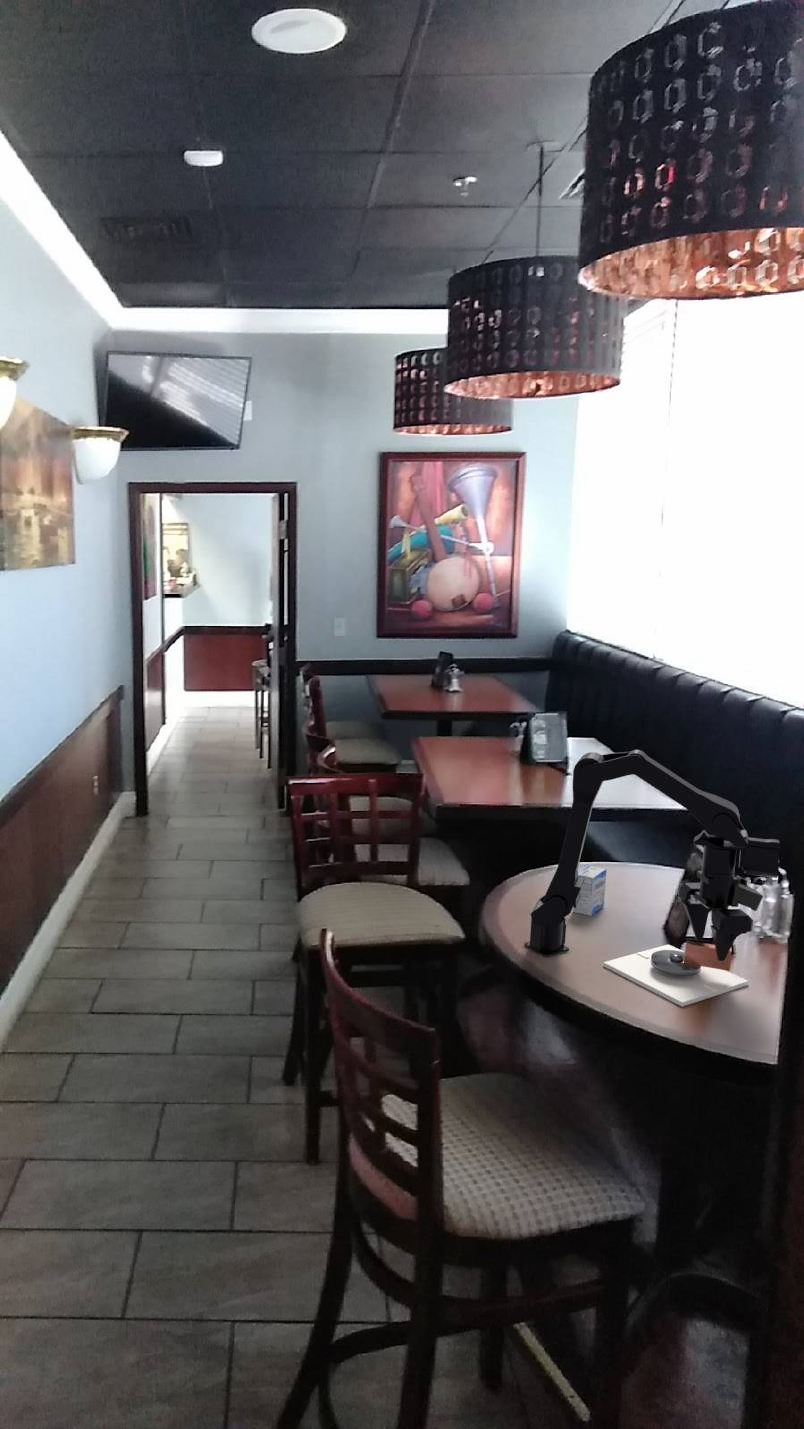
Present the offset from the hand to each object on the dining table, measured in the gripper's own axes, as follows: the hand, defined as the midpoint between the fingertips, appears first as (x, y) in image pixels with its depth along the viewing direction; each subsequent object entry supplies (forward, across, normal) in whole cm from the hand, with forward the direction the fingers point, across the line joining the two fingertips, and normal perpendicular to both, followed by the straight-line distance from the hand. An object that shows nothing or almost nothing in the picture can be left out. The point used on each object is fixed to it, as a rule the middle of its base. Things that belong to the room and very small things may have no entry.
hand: (710, 950), depth 186 cm
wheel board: (+5, 0, +6) cm, 8 cm away
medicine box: (+5, +34, +12) cm, 37 cm away
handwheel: (+3, -1, +4) cm, 5 cm away
